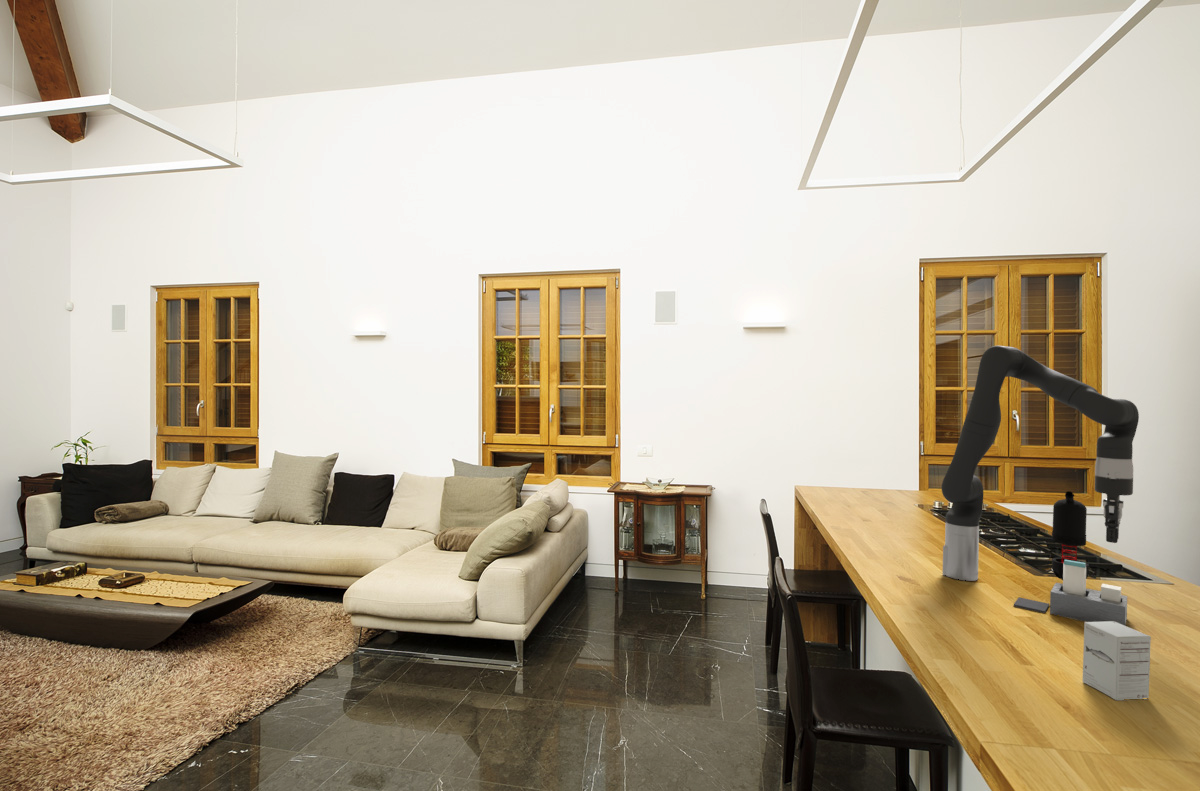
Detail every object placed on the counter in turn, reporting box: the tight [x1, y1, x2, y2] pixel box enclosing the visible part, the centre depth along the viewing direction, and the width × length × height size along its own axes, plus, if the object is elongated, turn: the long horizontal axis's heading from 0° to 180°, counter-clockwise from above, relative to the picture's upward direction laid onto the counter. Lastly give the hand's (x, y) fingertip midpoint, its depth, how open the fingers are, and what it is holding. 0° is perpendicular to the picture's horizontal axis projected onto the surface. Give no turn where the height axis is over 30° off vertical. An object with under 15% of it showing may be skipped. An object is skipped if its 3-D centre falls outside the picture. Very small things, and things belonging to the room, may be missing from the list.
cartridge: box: [1062, 560, 1087, 596], centre depth 157 cm, size 5×5×14 cm
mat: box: [1013, 597, 1050, 614], centre depth 162 cm, size 7×8×1 cm
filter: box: [1051, 490, 1090, 581], centre depth 181 cm, size 14×9×30 cm
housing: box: [1049, 582, 1128, 626], centre depth 155 cm, size 15×11×6 cm
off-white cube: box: [1100, 583, 1122, 602], centre depth 152 cm, size 4×4×5 cm
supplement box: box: [1082, 621, 1152, 701], centre depth 116 cm, size 7×7×13 cm
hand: (1112, 540), depth 152 cm, fingers open, 3 cm apart
